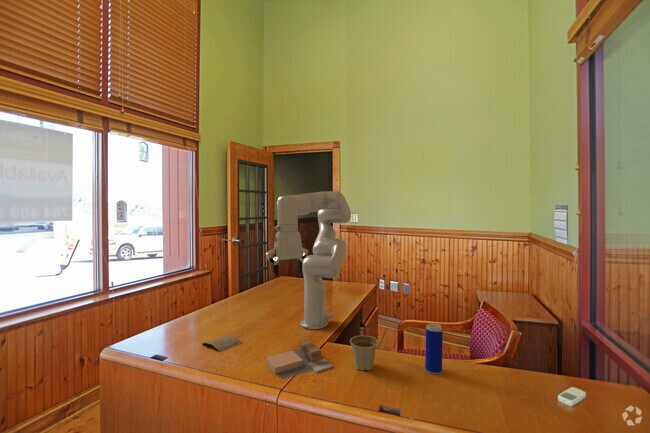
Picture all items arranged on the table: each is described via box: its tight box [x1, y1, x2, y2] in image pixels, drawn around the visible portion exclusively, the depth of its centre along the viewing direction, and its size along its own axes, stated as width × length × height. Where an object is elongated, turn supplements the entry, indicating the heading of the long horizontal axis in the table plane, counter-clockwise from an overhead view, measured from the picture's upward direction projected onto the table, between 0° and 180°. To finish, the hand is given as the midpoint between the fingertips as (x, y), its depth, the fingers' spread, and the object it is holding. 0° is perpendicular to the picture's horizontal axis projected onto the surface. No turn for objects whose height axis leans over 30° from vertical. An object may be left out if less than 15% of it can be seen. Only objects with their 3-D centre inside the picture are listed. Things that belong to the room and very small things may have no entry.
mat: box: [264, 347, 314, 380], centre depth 108 cm, size 16×16×1 cm
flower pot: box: [349, 335, 379, 371], centre depth 105 cm, size 9×9×9 cm
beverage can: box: [424, 322, 444, 375], centre depth 103 cm, size 5×5×15 cm
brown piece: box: [299, 340, 334, 373], centre depth 108 cm, size 14×6×4 cm, turn 31°
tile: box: [265, 350, 303, 375], centre depth 105 cm, size 10×2×8 cm
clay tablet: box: [202, 333, 244, 353], centre depth 121 cm, size 14×10×3 cm
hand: (287, 273), depth 119 cm, fingers open, 9 cm apart
